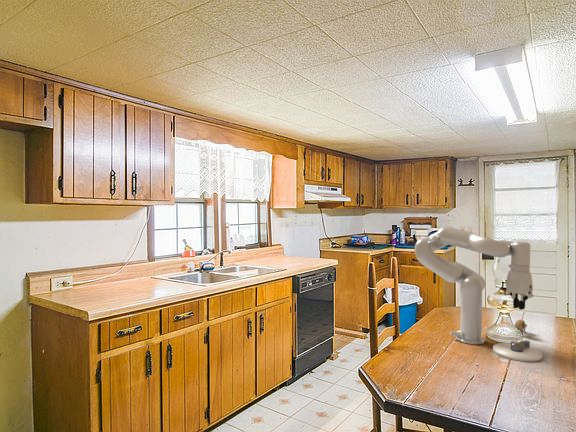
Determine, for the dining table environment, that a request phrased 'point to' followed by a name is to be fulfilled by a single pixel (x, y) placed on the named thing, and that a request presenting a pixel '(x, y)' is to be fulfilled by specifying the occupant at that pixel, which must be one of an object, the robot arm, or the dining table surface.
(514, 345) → the dark gray block
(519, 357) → the plate
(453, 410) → the dining table surface
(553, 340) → the dining table surface
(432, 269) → the robot arm
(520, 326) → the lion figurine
